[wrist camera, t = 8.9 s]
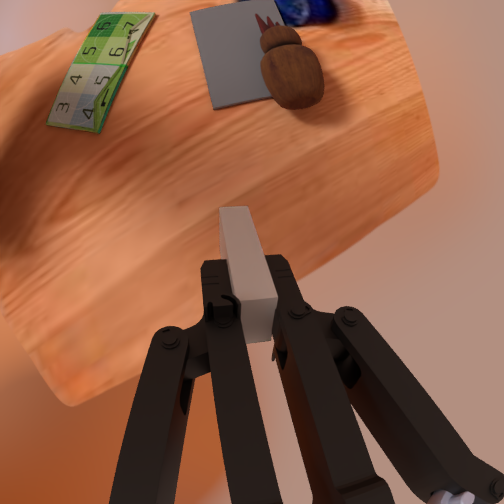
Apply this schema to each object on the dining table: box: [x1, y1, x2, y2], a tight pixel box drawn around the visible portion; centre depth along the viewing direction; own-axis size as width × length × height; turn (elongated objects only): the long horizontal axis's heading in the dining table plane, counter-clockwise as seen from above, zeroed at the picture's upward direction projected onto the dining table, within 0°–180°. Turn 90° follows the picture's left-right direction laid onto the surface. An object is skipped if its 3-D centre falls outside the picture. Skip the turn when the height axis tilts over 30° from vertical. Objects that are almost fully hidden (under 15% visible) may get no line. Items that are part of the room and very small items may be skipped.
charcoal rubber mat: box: [190, 0, 285, 110], centre depth 32 cm, size 17×12×1 cm
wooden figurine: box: [255, 13, 324, 109], centre depth 30 cm, size 7×6×15 cm
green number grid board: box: [46, 12, 156, 134], centre depth 32 cm, size 20×1×10 cm
